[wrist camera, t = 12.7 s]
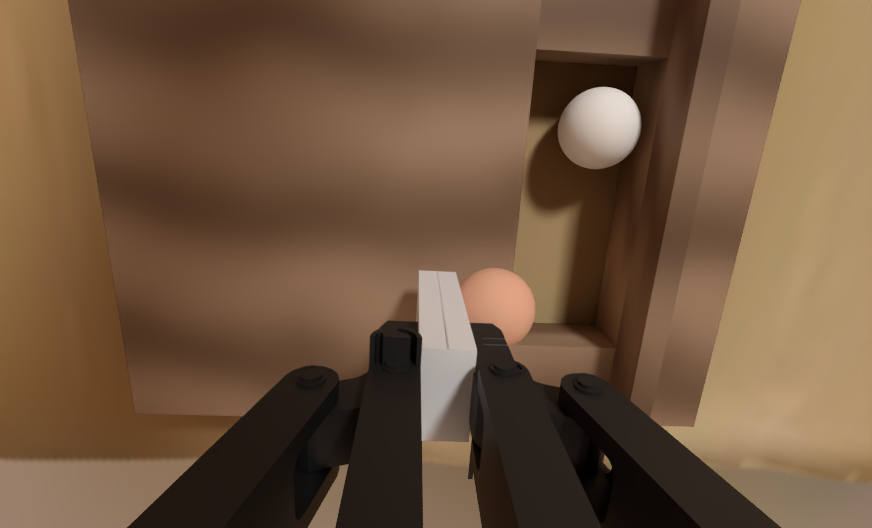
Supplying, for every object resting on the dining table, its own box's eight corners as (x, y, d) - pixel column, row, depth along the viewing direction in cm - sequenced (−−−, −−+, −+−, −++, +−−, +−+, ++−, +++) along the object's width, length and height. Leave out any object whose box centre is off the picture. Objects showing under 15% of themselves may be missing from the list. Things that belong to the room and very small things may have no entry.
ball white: (558, 82, 17) (651, 83, 16) (567, 89, 20) (646, 90, 19) (548, 168, 18) (635, 175, 17) (557, 163, 21) (632, 169, 20)
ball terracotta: (535, 262, 18) (458, 256, 19) (543, 285, 15) (452, 277, 16) (527, 333, 19) (454, 326, 20) (534, 368, 16) (447, 359, 17)
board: (101, -82, 17) (-9, -156, 13) (763, -33, 18) (870, -85, 14) (165, 383, 23) (105, 443, 18) (666, 396, 24) (720, 455, 19)
